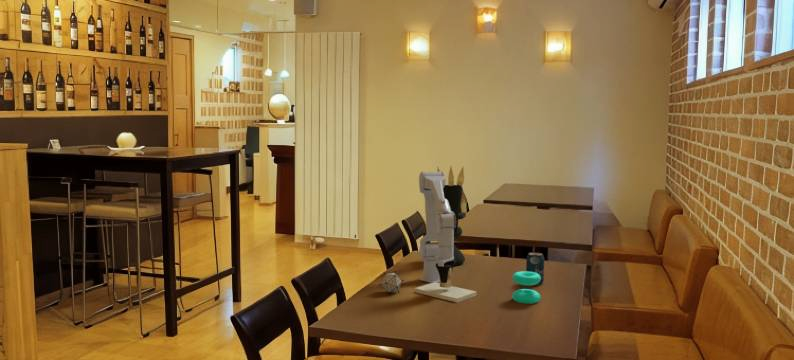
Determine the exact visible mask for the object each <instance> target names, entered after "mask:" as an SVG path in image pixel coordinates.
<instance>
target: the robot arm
mask: <svg viewBox="0 0 794 360" xmlns="http://www.w3.org/2000/svg"><path fill="white" fill-rule="evenodd" d="M418 181H419V182H418V184H419V185H418V186H419V192H420V193H421V194H423V196H424V211H425V212H424V213H425V228H426V230H425V231H426V232H425V233H426V234H425V235H424V236H422V237H421V239H420V241H419V254H420V255H419V256H420V257H421V258H422V259H423V277H420V278H418V281H422V282H427V283H429V284H430V283H434V282H436V283H440V281H441V283H447V280H448V273H449V270H450V267H451V268H452V270H451V274H452V273H453V269H454V266H455V265H454V264H455V262H456V261H455V260H454V256H453V253H454V245H455V244H454V243H455V241H454V239H455V238H454V229H453V228H455V227H456V217H455V214H454V213H453V211H451V209H450V205H449V202H448V200H447V199H445V198H444V192H443V188H444V186H445V185H446V182H447V177H446V173H445V172H444V171H443V170H442V171H440V172H437V171H420V173H419V176H418Z"/></svg>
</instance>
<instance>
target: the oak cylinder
mask: <svg viewBox="0 0 794 360" xmlns="http://www.w3.org/2000/svg"><path fill="white" fill-rule="evenodd" d="M451 270H452V271H453V269H452V268H451V267H450V270H449V273H448V280H447V283H441V281H440V282H439V283H440V287H443V288H448V287H451V286H452V273H451Z"/></svg>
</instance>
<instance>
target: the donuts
mask: <svg viewBox="0 0 794 360" xmlns="http://www.w3.org/2000/svg"><path fill="white" fill-rule="evenodd" d="M512 280H513V281H514V282H515V283H516V284H518V285H521V286H536V285H535V284H538V283H539V282H540V280H541V277H540V275H539V274H537V273H535V272H530V271H525V270H522V271H517V272H514V274H512ZM511 296H512V299H513V301H515V302H517V303H519V304H525V305H527V304H530V305H532V304H536V303H539V302H540V300H541V294H540V293H539V292H538V291H536V290H534V289H529V288H521V289H517V290H515V291H514V292H513V293H512V295H511Z"/></svg>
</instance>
